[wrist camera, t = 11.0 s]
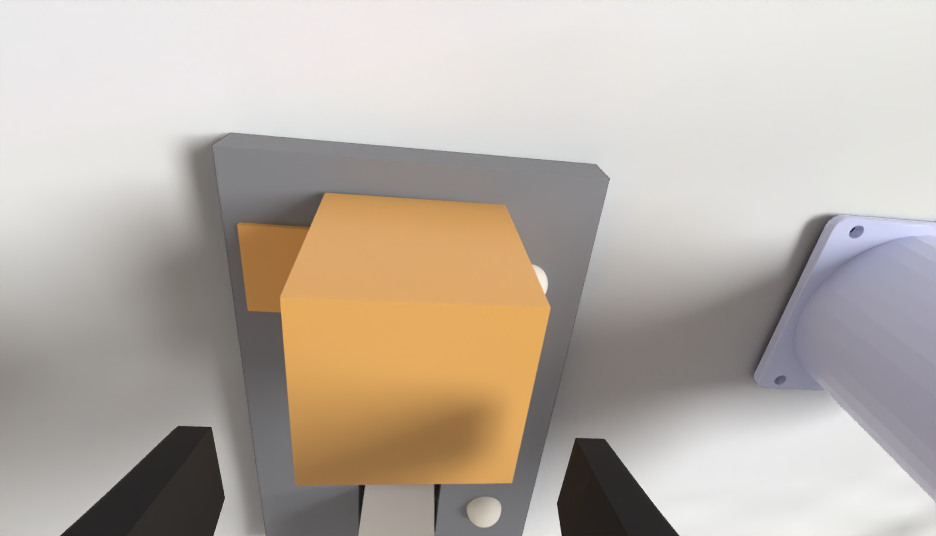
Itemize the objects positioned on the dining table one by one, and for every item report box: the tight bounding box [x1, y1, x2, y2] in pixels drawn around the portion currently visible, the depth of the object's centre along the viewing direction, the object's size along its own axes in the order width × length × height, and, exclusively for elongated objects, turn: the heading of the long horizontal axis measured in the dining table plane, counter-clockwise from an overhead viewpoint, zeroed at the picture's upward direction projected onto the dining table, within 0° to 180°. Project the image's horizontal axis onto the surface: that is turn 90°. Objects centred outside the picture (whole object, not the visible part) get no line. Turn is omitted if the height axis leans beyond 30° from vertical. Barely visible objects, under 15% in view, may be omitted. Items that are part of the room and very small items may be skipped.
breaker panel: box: [212, 133, 610, 536], centre depth 20 cm, size 12×20×2 cm, turn 174°
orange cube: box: [280, 193, 551, 486], centre depth 14 cm, size 6×6×6 cm
